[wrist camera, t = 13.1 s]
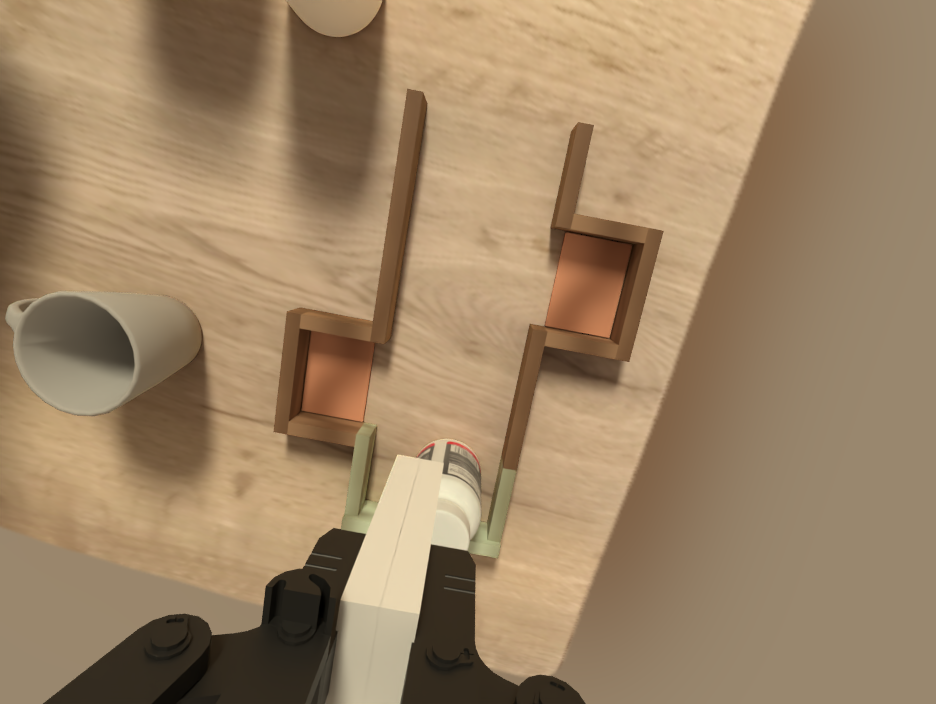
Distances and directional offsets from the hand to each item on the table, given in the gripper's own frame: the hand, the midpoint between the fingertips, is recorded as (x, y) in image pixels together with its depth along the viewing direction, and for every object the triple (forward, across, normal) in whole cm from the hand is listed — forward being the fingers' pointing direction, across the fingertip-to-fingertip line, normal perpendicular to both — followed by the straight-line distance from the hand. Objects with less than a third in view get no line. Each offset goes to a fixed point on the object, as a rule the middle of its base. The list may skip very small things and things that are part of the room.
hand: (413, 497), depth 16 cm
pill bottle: (+22, +1, -9) cm, 24 cm away
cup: (+22, -23, -2) cm, 32 cm away
